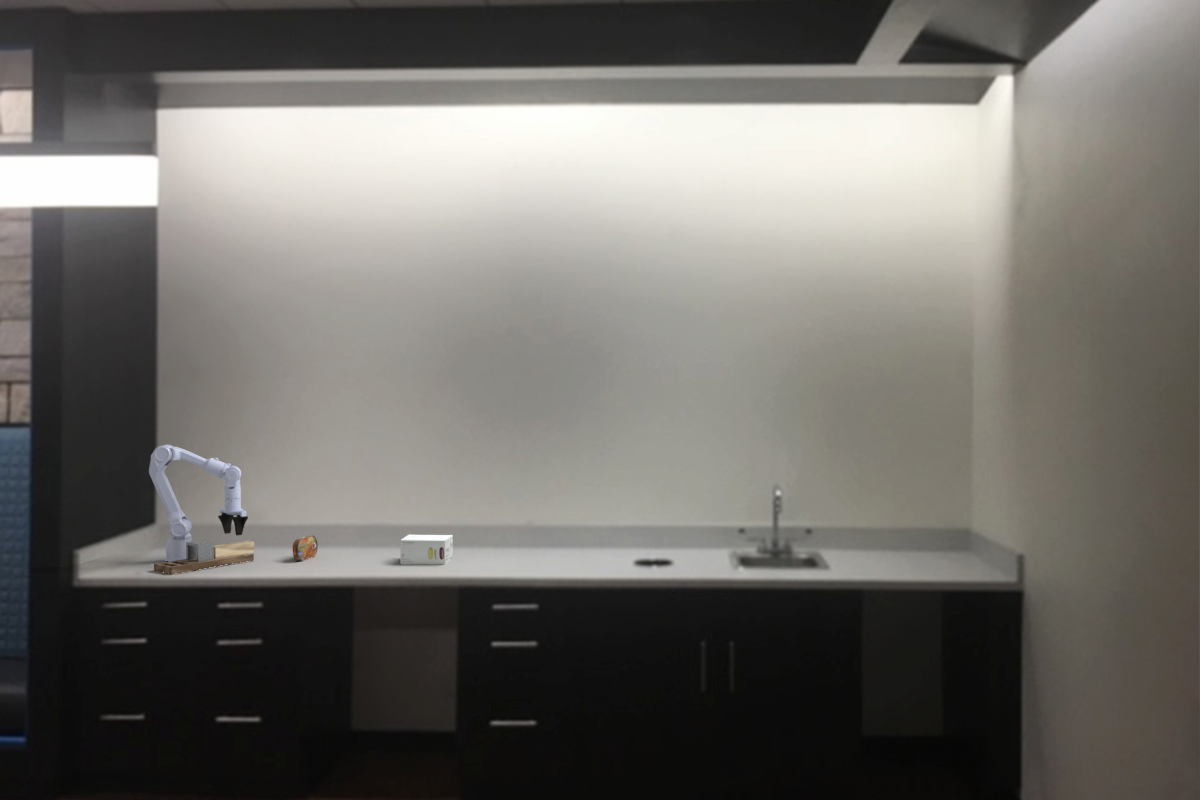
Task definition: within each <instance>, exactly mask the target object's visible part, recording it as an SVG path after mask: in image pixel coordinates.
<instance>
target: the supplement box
mask: <svg viewBox="0 0 1200 800" xmlns="http://www.w3.org/2000/svg"><path fill="white" fill-rule="evenodd" d="M453 537H454V535H453V534H410V533H409V534H408V535H406V536H404V537H403V538H401V539H400V565H406V564H446V563H447V562H448V561H449V562H451V561H452V560H453V559H452V558H454V555H453V554H454V552H453V551H454V546H453V545H454V544H453V543H454V539H453ZM451 559H452V560H451ZM450 560H451V561H450ZM449 562H448V563H449ZM448 563H447V564H448ZM447 564H446V565H447Z"/></svg>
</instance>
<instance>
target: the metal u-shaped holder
mask: <svg viewBox="0 0 1200 800" xmlns="http://www.w3.org/2000/svg"><path fill="white" fill-rule="evenodd" d="M214 546H215V545H214V541H212V540H211V541H210V540H204V539H198V540H192V541H190V542H186V560H192V559H197V562H203V561H209V560H214Z"/></svg>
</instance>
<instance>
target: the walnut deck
mask: <svg viewBox="0 0 1200 800" xmlns="http://www.w3.org/2000/svg"><path fill="white" fill-rule="evenodd" d="M254 556H255V555H254V552H252V553H246V554H240V555H234V556H228V557H221V558H214V560H209V561H203V562H197V559H192V560H186V559H182V560H176V561H170V562H167V561H164V562H159V563H157V562H156V563H154V564H153V572H157V571H159V572H158V573H161V572H164V573H163V574H166V573H169V574H168V575H171V574H174V575H176V574H175V573H180V574H183V573H182V572H186V573H189V572H188V571H192V572H195V571H194V570H198V571H200V570H199V569H204V568H209V567H214V566H220V565H225V564H232V563H239V564H241V563H240V562H245V563H247V562H246V561H251V562H254V561H255V560H254V559H255V557H254ZM253 560H254V561H253ZM204 570H205V569H204Z"/></svg>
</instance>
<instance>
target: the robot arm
mask: <svg viewBox="0 0 1200 800" xmlns="http://www.w3.org/2000/svg"><path fill="white" fill-rule="evenodd" d="M181 460H183V461H185V462H187V463H190V464H193V465H196V466H199V467H202V468H203V470H204V472H205V473H207V474H210V475H213V476H215V477H218V478H220V479H223V480H224V508H219V514H220V515H218V516H217V518H218V519H219V521H220V523H221V526H222V529H223V533H224V534H225V535H227V534H231V532H232V524H233V523H234V532H235V536H236V537H237V536H242V535H243V532H244V528H245V525H246V522H247V521H248V519H249V516H248V515H247V511H246V510H244V508H242V490H241V489H242V486H241V477H242V470H241V469H240V468H239V467H238V466H236V465H232V463H227V462H223V461H221V460H219V458H218V457H210V458H207V459H206V458H204V457H203V456H200V455H198V454H195V453H194V452H192V451H189V450H186V449H184V448H181V447H179V446H173V445H172V444H163V445H159V446H156V447H155V449H154V450H153V452H152V453H151V455H150V462H149V467H148V468H149V469H148V474H149V476H150V478H151V480H152V483H153V485H154V488H155V490H156V493H157V494H158V497H159V499H160V501H161V504H162V505H163V507H164V510H165V512H166V515H167V521H168V524H169V533H170V535H171V536H170V537H169V538H168V539H167V541H166V544H165V546H166V547H165V552H166V553H165V555H166V558H165V559H164V560H163V561H164V562H167V561H168V562H170V561H176V560H182V559H186V542H190V541H193V539H192V534H191V533H190V532H191V531H193V523H192V521H191V520H190V519H189V518H187V516H186V513H184V511H183V510H182V509H181V506H180V504H179V502H178V499H177V497H176V494H175V493H174V491H173V487H172V485H171V483H170V481H169V479H168V476H167V475H166V471H167V470H166V469H167V468H168V466H169V464H170V463H171V462H172V461H181Z"/></svg>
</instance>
